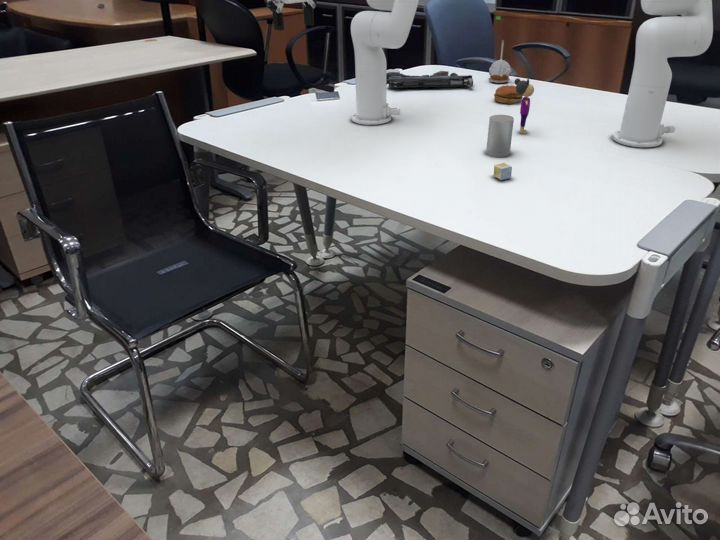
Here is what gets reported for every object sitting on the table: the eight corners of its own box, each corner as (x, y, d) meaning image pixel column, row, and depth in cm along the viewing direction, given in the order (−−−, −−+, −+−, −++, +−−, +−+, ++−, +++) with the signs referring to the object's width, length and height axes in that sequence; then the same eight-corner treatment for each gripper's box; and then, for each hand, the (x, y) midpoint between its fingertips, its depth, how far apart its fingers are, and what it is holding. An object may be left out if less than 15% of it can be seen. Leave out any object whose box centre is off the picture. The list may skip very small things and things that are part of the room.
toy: (529, 138, 161) (536, 84, 154) (509, 137, 162) (515, 83, 155) (527, 127, 170) (534, 75, 162) (508, 126, 171) (514, 75, 163)
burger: (499, 104, 192) (501, 90, 189) (490, 98, 200) (491, 84, 197) (527, 103, 193) (529, 89, 190) (517, 96, 201) (518, 82, 198)
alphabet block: (500, 180, 135) (501, 168, 134) (492, 176, 138) (494, 164, 136) (511, 178, 136) (512, 166, 135) (503, 174, 139) (504, 162, 137)
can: (512, 151, 153) (516, 116, 148) (506, 158, 148) (510, 122, 144) (489, 148, 156) (492, 113, 151) (483, 155, 151) (486, 119, 146)
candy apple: (512, 80, 221) (516, 39, 213) (505, 84, 216) (509, 42, 208) (493, 78, 225) (496, 38, 217) (485, 82, 219) (489, 41, 211)
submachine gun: (465, 67, 229) (475, 77, 207) (464, 78, 231) (474, 89, 209) (384, 68, 229) (385, 79, 207) (384, 79, 231) (385, 91, 209)
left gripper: (268, -49, 127) (276, 33, 136) (326, -52, 137) (330, 24, 146) (249, -49, 132) (257, 30, 141) (306, -52, 142) (311, 22, 151)
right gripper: (724, -59, 112) (699, 34, 121) (796, -57, 98) (762, 48, 106) (757, -60, 113) (730, 32, 122) (834, -58, 99) (797, 46, 108)
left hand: (294, 27), depth 143 cm, fingers open, 9 cm apart
